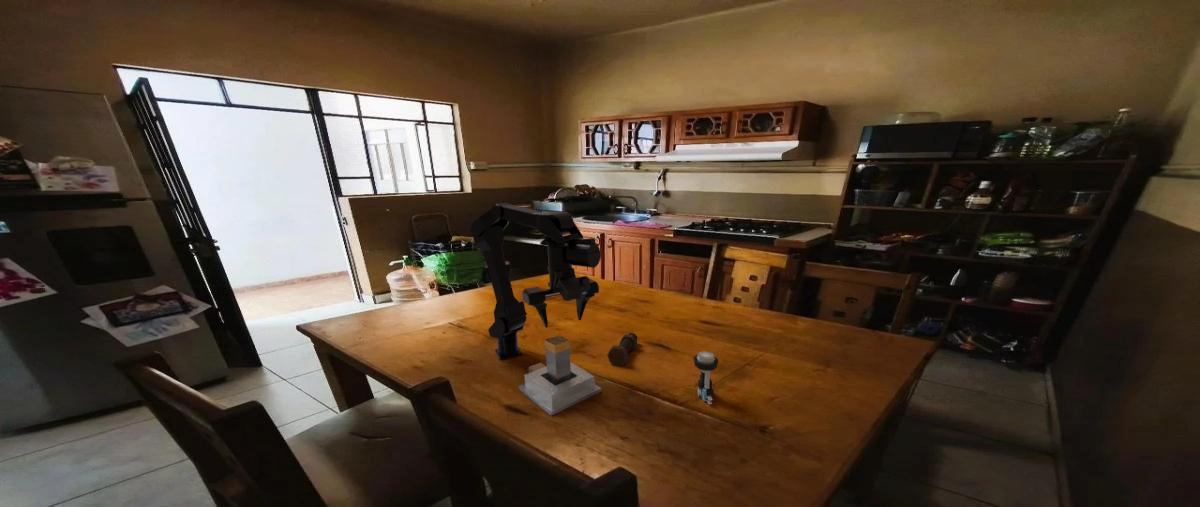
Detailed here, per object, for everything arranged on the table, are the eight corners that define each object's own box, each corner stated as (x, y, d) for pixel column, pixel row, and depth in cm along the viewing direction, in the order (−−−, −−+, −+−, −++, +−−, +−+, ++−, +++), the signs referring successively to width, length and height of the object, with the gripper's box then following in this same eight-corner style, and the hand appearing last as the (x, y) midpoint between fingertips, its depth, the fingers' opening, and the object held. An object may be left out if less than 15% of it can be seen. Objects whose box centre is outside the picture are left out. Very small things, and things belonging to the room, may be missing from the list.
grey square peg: (547, 387, 90) (544, 339, 88) (562, 381, 93) (559, 334, 91) (557, 394, 87) (554, 345, 85) (571, 387, 90) (569, 340, 87)
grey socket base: (510, 382, 95) (509, 368, 94) (557, 363, 103) (556, 350, 103) (550, 415, 81) (550, 399, 80) (601, 391, 89) (601, 376, 89)
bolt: (635, 349, 115) (619, 370, 102) (621, 339, 117) (604, 359, 103) (644, 334, 114) (630, 354, 100) (630, 324, 115) (614, 343, 101)
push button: (722, 405, 83) (724, 363, 81) (697, 406, 83) (698, 364, 81) (712, 389, 89) (714, 349, 87) (690, 390, 89) (690, 350, 87)
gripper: (535, 275, 83) (539, 343, 86) (609, 264, 91) (610, 325, 94) (519, 266, 92) (523, 327, 95) (588, 256, 101) (590, 312, 104)
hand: (563, 323), depth 97 cm, fingers open, 9 cm apart
